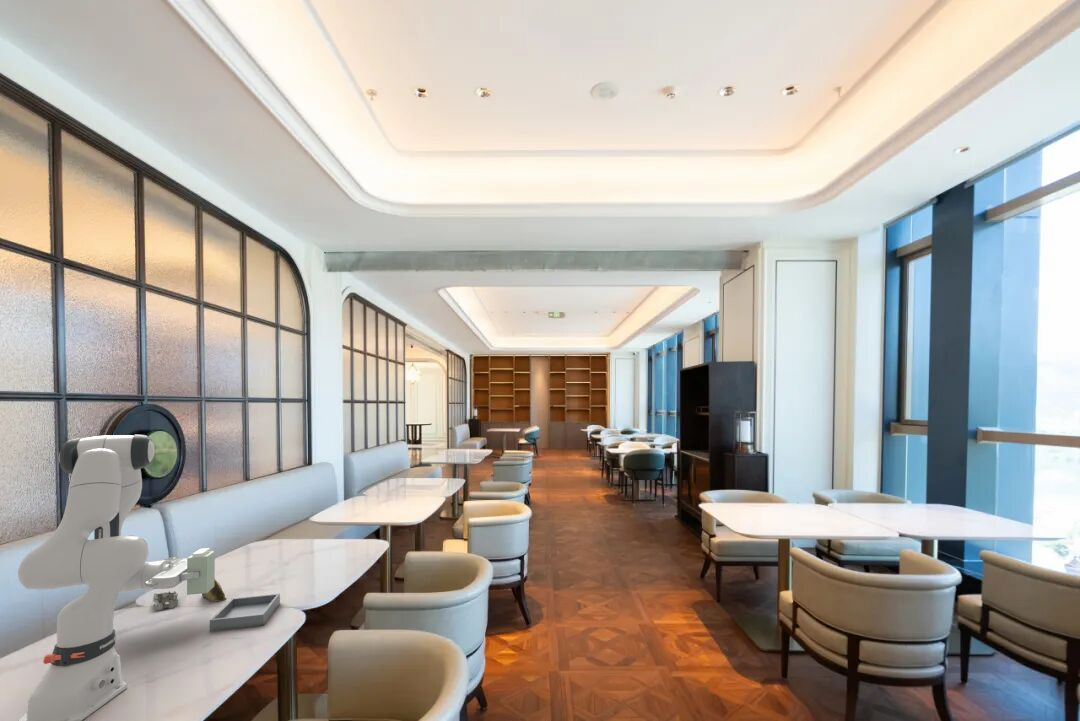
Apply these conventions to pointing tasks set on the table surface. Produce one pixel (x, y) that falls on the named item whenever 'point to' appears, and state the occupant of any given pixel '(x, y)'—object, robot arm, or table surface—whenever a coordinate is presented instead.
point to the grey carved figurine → (165, 600)
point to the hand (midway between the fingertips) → (204, 570)
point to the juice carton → (201, 571)
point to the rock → (215, 593)
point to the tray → (245, 612)
